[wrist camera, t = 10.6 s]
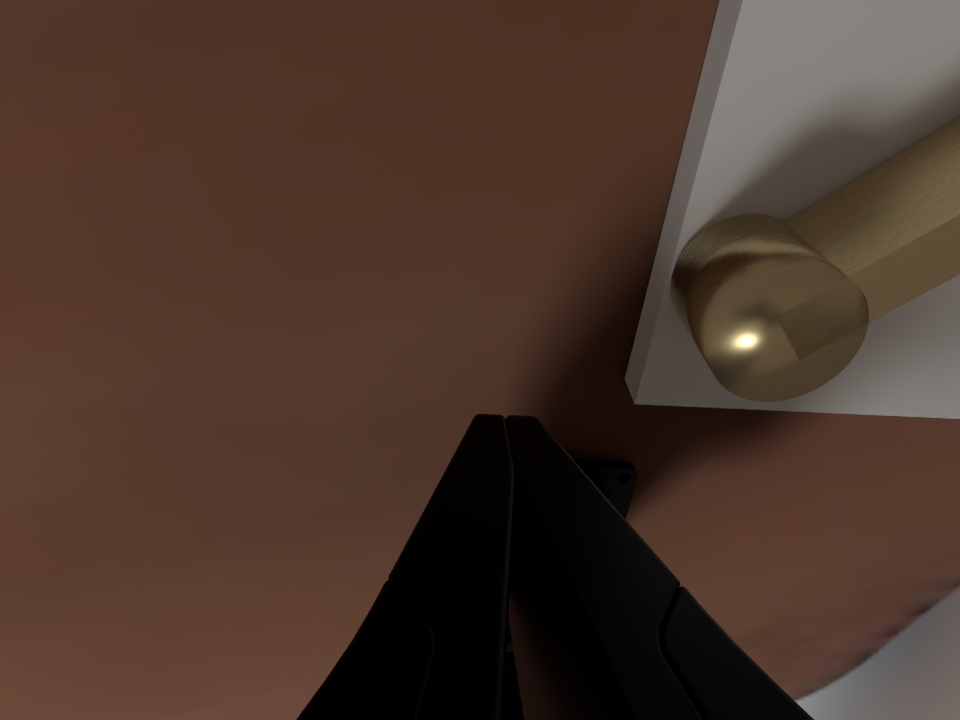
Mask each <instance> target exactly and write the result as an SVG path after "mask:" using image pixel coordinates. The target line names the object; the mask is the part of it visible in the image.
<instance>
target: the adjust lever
mask: <svg viewBox="0 0 960 720" xmlns="http://www.w3.org/2000/svg"><path fill="white" fill-rule="evenodd" d="M958 275H960V118H959V119H957V120H955V121H954V122H952V123H950V124H949V125H947V126H945V127H944V128H942V129H940V130H939V131H937V132H935V133H934V134H932V135H930V136H929V137H927V138H925V139H924V140H922V141H920V142H919V143H917V144H915V145H914V146H912V147H910V148H909V149H907V150H905V151H904V152H902V153H900V154H899V155H897V156H895V157H894V158H892V159H890V160H889V161H887V162H885V163H884V164H882V165H880V166H879V167H877V168H875V169H874V170H872V171H870V172H869V173H867V174H865V175H864V176H862V177H860V178H859V179H857V180H855V181H854V182H852V183H851V184H849V185H847V186H846V187H844V188H842V189H841V190H839V191H837V192H836V193H834V194H832V195H831V196H829V197H827V198H826V199H824V200H822V201H821V202H819V203H817V204H816V205H814V206H812V207H811V208H809V209H807V210H806V211H804V212H802V213H801V214H799V215H797V216H796V217H794V218H792V219H791V220H789V221H787V222H786V223H785V222H784V221H782V220H780V219H778V218H775V217H772V216H768V215H764V214H743V215H738V216H734V217H730V218H727V219H724V220H722V221H720V222H717V223H715V224H714V225H712V226H710V227H708V228H707V229H705V230H704V231H703V232H701V233H700V234H699V235H698V236H696V237H695V238H694V239H693V240H692V241H691V242H690V243H689V244H688V246H687V247H686V248H685V249H684V251H683V252H682V253H681V255H680V257H679V259H678V260H677V262H676V265H675V267H674V270H673V273H672V277H671V283H670V294H671V300H672V303H673V306H674V308H675V310H676V312H677V314H678V316H679V317H680V319H681V321H682V322H683V324H684V326H685V327H686V329H687V331H688V332H689V334H690V336H691V337H692V339H693V341H694V342H695V344H696V346H697V347H698V349H699V351H700V352H701V354H702V356H703V358H704V359H705V361H706V363H707V364H708V366H709V368H710V369H711V371H712V373H713V374H714V376H715V378H716V379H717V380H718V382H719V383H720V384H721V385H722V386H723V387H724V388H725V389H726V390H728V391H729V392H731V393H732V394H734V395H736V396H738V397H741V398H744V399H747V400H752V401H759V402H775V401H782V400H788V399H792V398H796V397H798V396H801V395H804V394H807V393H809V392H811V391H813V390H815V389H817V388H819V387H821V386H822V385H824V384H826V383H827V382H828V381H830V380H831V379H833V378H834V377H835V376H836V375H838V374H839V373H840V372H841V371H842V370H843V369H844V368H845V367H846V366H847V365H848V364H849V363H850V362H851V360H852V359H853V358H854V357H855V355H856V354H857V352H858V350H859V349H860V347H861V345H862V343H863V341H864V339H865V336H866V333H867V329H868V324H869V323H870V322H871V321H873V320H875V319H877V318H879V317H881V316H883V315H885V314H886V313H888V312H890V311H892V310H894V309H896V308H898V307H900V306H902V305H903V304H905V303H907V302H909V301H911V300H913V299H915V298H917V297H918V296H920V295H922V294H924V293H926V292H928V291H930V290H932V289H934V288H935V287H937V286H939V285H941V284H943V283H945V282H947V281H949V280H950V279H952V278H954V277H956V276H958Z"/></svg>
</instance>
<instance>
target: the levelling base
mask: <svg viewBox="0 0 960 720" xmlns="http://www.w3.org/2000/svg"><path fill="white" fill-rule="evenodd" d="M959 118H960V0H720V1H719V5H718V9H717V13H716V17H715V21H714V25H713V29H712V33H711V37H710V41H709V45H708V49H707V53H706V57H705V61H704V65H703V69H702V73H701V77H700V81H699V85H698V89H697V93H696V97H695V101H694V105H693V109H692V113H691V117H690V121H689V125H688V129H687V133H686V137H685V141H684V145H683V149H682V153H681V157H680V161H679V164H678V168H677V172H676V176H675V180H674V184H673V188H672V192H671V196H670V200H669V204H668V208H667V212H666V216H665V220H664V224H663V228H662V232H661V236H660V240H659V244H658V248H657V252H656V256H655V260H654V264H653V268H652V272H651V276H650V280H649V284H648V288H647V292H646V296H645V300H644V304H643V308H642V312H641V316H640V320H639V324H638V328H637V332H636V336H635V340H634V344H633V348H632V352H631V356H630V360H629V364H628V368H627V372H626V376H625V381H626V384H627V386H628V389H629V391H630V394H631V396H632V399H633V401H634V404H641V405H664V406H686V407H708V408H730V409H753V410H775V411H797V412H819V413H842V414H864V415H886V416H908V417H931V418H953V419H960V275H958V276H956V277H954V278H952V279H950V280H949V281H947V282H945V283H943V284H941V285H939V286H937V287H935V288H934V289H932V290H930V291H928V292H926V293H924V294H922V295H920V296H918V297H917V298H915V299H913V300H911V301H909V302H907V303H905V304H903V305H902V306H900V307H898V308H896V309H894V310H892V311H890V312H888V313H886V314H885V315H883V316H881V317H879V318H877V319H875V320H873V321H871V322H870V323H869V324H868V329H867V333H866V336H865V339H864V341H863V343H862V345H861V347H860V349H859V350H858V352H857V354H856V355H855V357H854V358H853V359H852V360H851V362H850V363H849V364H848V365H847V366H846V367H845V368H844V369H843V370H842V371H841V372H840V373H839V374H838V375H836V376H835V377H834V378H833V379H831V380H830V381H828V382H827V383H826V384H824V385H822V386H821V387H819V388H817V389H815V390H813V391H811V392H809V393H807V394H804V395H801V396H798V397H796V398H792V399H788V400H782V401H775V402H759V401H752V400H747V399H744V398H741V397H738V396H736V395H734V394H732V393H731V392H729V391H728V390H726V389H725V388H724V387H723V386H722V385H721V384H720V383H719V382H718V380H717V379H716V378H715V376H714V374H713V373H712V371H711V369H710V368H709V366H708V364H707V363H706V361H705V359H704V358H703V356H702V354H701V352H700V351H699V349H698V347H697V346H696V344H695V342H694V341H693V339H692V337H691V336H690V334H689V332H688V331H687V329H686V327H685V326H684V324H683V322H682V321H681V319H680V317H679V316H678V314H677V312H676V310H675V308H674V306H673V303H672V300H671V294H670V283H671V277H672V273H673V270H674V267H675V265H676V262H677V260H678V259H679V257H680V255H681V253H682V252H683V251H684V249H685V248H686V247H687V246H688V244H689V243H690V242H691V241H692V240H693V239H694V238H695V237H696V236H698V235H699V234H700V233H701V232H703V231H704V230H705V229H707V228H708V227H710V226H712V225H714V224H715V223H717V222H720V221H722V220H724V219H727V218H730V217H734V216H738V215H743V214H764V215H768V216H772V217H775V218H778V219H780V220H782V221H784V222H785V223H786V222H787V221H789V220H791V219H792V218H794V217H796V216H797V215H799V214H801V213H802V212H804V211H806V210H807V209H809V208H811V207H812V206H814V205H816V204H817V203H819V202H821V201H822V200H824V199H826V198H827V197H829V196H831V195H832V194H834V193H836V192H837V191H839V190H841V189H842V188H844V187H846V186H847V185H849V184H851V183H852V182H854V181H855V180H857V179H859V178H860V177H862V176H864V175H865V174H867V173H869V172H870V171H872V170H874V169H875V168H877V167H879V166H880V165H882V164H884V163H885V162H887V161H889V160H890V159H892V158H894V157H895V156H897V155H899V154H900V153H902V152H904V151H905V150H907V149H909V148H910V147H912V146H914V145H915V144H917V143H919V142H920V141H922V140H924V139H925V138H927V137H929V136H930V135H932V134H934V133H935V132H937V131H939V130H940V129H942V128H944V127H945V126H947V125H949V124H950V123H952V122H954V121H955V120H957V119H959Z"/></svg>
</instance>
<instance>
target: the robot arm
mask: <svg viewBox="0 0 960 720" xmlns="http://www.w3.org/2000/svg"><path fill="white" fill-rule="evenodd" d="M624 473H627V474H626V475H624V476H620V475H621V474H624ZM636 481H637V473H636V470H635V467H634V466H633V464H631V463H630V462H624V461H597V460H573V459H572V458H571V457H570V456H569V454H568V453H567V452H566V451H565V450H564V449H563V448H562V446H561V445H560V444H559V443H558V442H557V441H556V440H555V438H554V437H553V436H552V435H551V434H550V433H549V432H548V430H547V429H546V428H545V427H544V426H543V425H542V424H541V422H540V421H539V420H538V419H537V418H535V417H533V416H517V415H509V416H508V417H507V418H506V419H505V418H504V417H503V416H502V415H493V414H477V415H476V416H475V417H474V418H473V420H472V422H471V424H470V425H469V427H468V429H467V431H466V433H465V435H464V437H463V439H462V440H461V442H460V444H459V446H458V448H457V450H456V452H455V454H454V455H453V457H452V459H451V461H450V463H449V465H448V467H447V468H446V470H445V472H444V474H443V476H442V478H441V480H440V482H439V483H438V485H437V487H436V489H435V491H434V493H433V495H432V496H431V498H430V500H429V502H428V504H427V506H426V508H425V510H424V511H423V513H422V515H421V517H420V519H419V521H418V523H417V524H416V526H415V528H414V530H413V532H412V534H411V536H410V538H409V539H408V541H407V543H406V545H405V547H404V549H403V551H402V552H401V554H400V556H399V558H398V560H397V562H396V564H395V566H394V567H393V569H392V571H391V573H390V575H389V578H388V580H387V581H386V582H385V584H384V585H383V587H382V589H381V591H380V593H379V595H378V597H377V598H376V600H375V602H374V604H373V606H372V607H371V609H370V611H369V613H368V614H367V616H366V618H365V619H364V621H363V623H362V625H361V626H360V628H359V630H358V631H357V633H356V635H355V636H354V638H353V640H352V641H351V643H350V644H349V646H348V647H347V649H346V650H345V652H344V653H343V655H342V656H341V658H340V659H339V661H338V662H337V663H336V665H335V666H334V668H333V669H332V671H331V672H330V674H329V675H328V677H327V678H326V680H325V681H324V682H323V684H322V685H321V686H320V688H319V689H318V691H317V692H316V693H315V695H314V696H313V697H312V699H311V700H310V702H309V703H308V704H307V706H306V707H305V708H304V710H303V711H302V713H301V714H300V715H299V717H298V718H297V719H296V720H814V719H813V718H812V717H811V716H810V715H808V714H807V712H805V711H804V710H803V709H802V708H801V707H800V706H799V705H798V704H797V703H796V702H795V701H794V700H793V699H792V698H791V697H790V696H789V695H788V694H787V693H786V692H784V691H783V690H782V689H781V688H780V687H779V686H778V685H777V684H776V683H775V682H774V681H773V680H772V679H771V678H770V677H769V676H768V675H767V674H766V673H765V672H764V671H763V670H762V669H761V668H760V667H759V666H758V665H757V664H756V663H755V662H754V661H753V660H752V659H751V658H750V657H749V656H748V655H747V654H746V653H745V652H744V651H743V650H742V649H741V648H740V647H739V646H738V645H737V644H736V643H735V642H734V641H733V640H732V639H731V638H730V637H729V636H728V635H727V633H726V632H725V631H724V630H723V629H722V628H721V627H720V626H719V625H718V624H717V623H716V621H715V620H714V619H713V618H712V617H711V616H710V615H709V614H708V613H707V612H706V611H705V610H704V608H703V607H702V606H701V605H700V604H699V603H698V602H697V600H696V599H695V598H694V597H693V596H692V595H691V594H690V592H689V591H688V590H687V589H686V588H685V587H683V586H682V587H680V581H679V580H678V579H677V578H676V577H675V576H674V574H673V573H672V572H671V571H670V570H669V569H668V568H667V566H666V565H665V564H664V563H663V562H662V561H661V560H660V558H659V557H658V556H657V555H656V554H655V553H654V552H653V550H652V549H651V548H650V547H649V546H648V545H647V544H646V542H645V541H644V540H643V539H642V538H641V537H640V536H639V534H638V533H637V532H636V531H635V530H634V529H633V528H632V526H631V525H630V524H629V523H628V522H627V521H626V520H625V518H626V515H627V511H628V508H629V505H630V501H631V498H632V494H633V491H634V488H635V484H636ZM679 587H680V588H679Z"/></svg>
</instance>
